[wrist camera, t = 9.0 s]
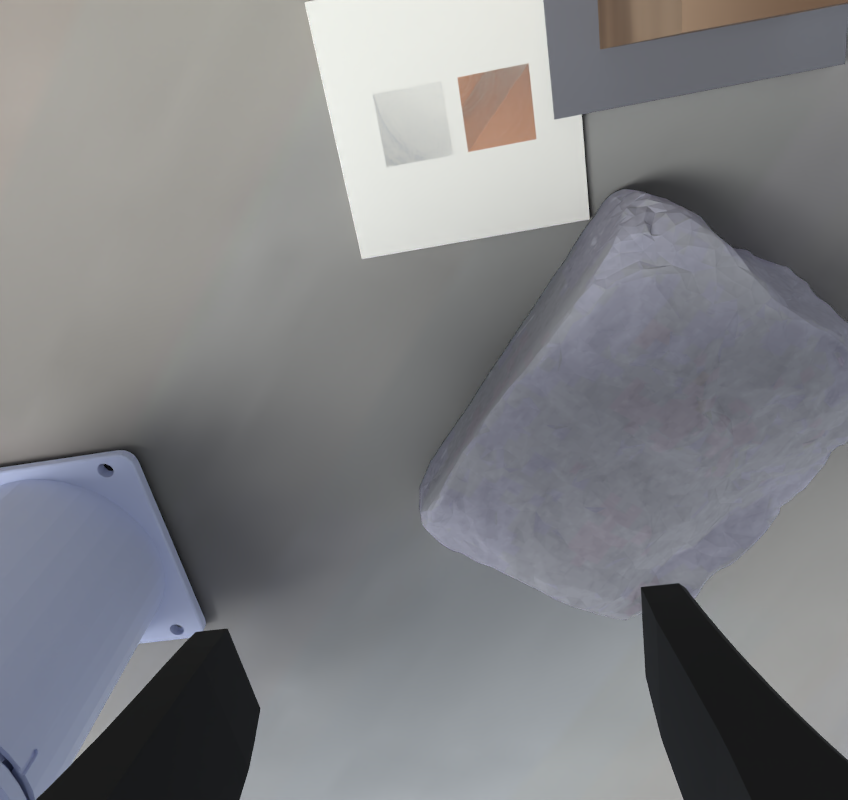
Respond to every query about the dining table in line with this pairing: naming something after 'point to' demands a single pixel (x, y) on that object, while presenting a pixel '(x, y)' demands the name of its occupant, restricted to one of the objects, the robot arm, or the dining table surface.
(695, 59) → the charcoal mat
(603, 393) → the stone block
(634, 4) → the walnut block
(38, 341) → the dining table surface
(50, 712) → the robot arm
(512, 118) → the cream tile
